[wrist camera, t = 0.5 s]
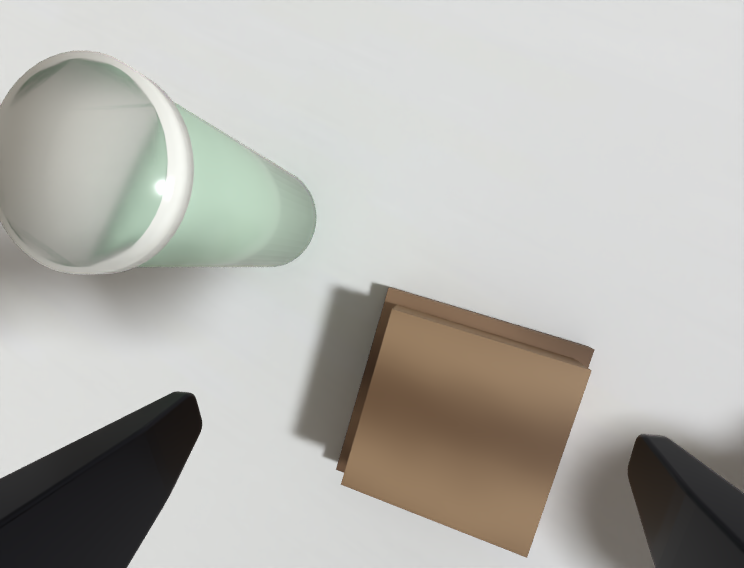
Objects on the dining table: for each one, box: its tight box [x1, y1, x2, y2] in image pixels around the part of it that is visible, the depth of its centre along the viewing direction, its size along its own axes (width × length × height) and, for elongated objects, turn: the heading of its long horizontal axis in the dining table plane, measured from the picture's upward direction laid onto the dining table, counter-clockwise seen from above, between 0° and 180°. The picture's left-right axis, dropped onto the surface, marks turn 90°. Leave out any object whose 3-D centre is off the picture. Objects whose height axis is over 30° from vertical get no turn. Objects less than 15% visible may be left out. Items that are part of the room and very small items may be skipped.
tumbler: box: [0, 51, 316, 274], centre depth 17 cm, size 6×6×12 cm
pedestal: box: [336, 287, 594, 557], centre depth 20 cm, size 10×10×3 cm
